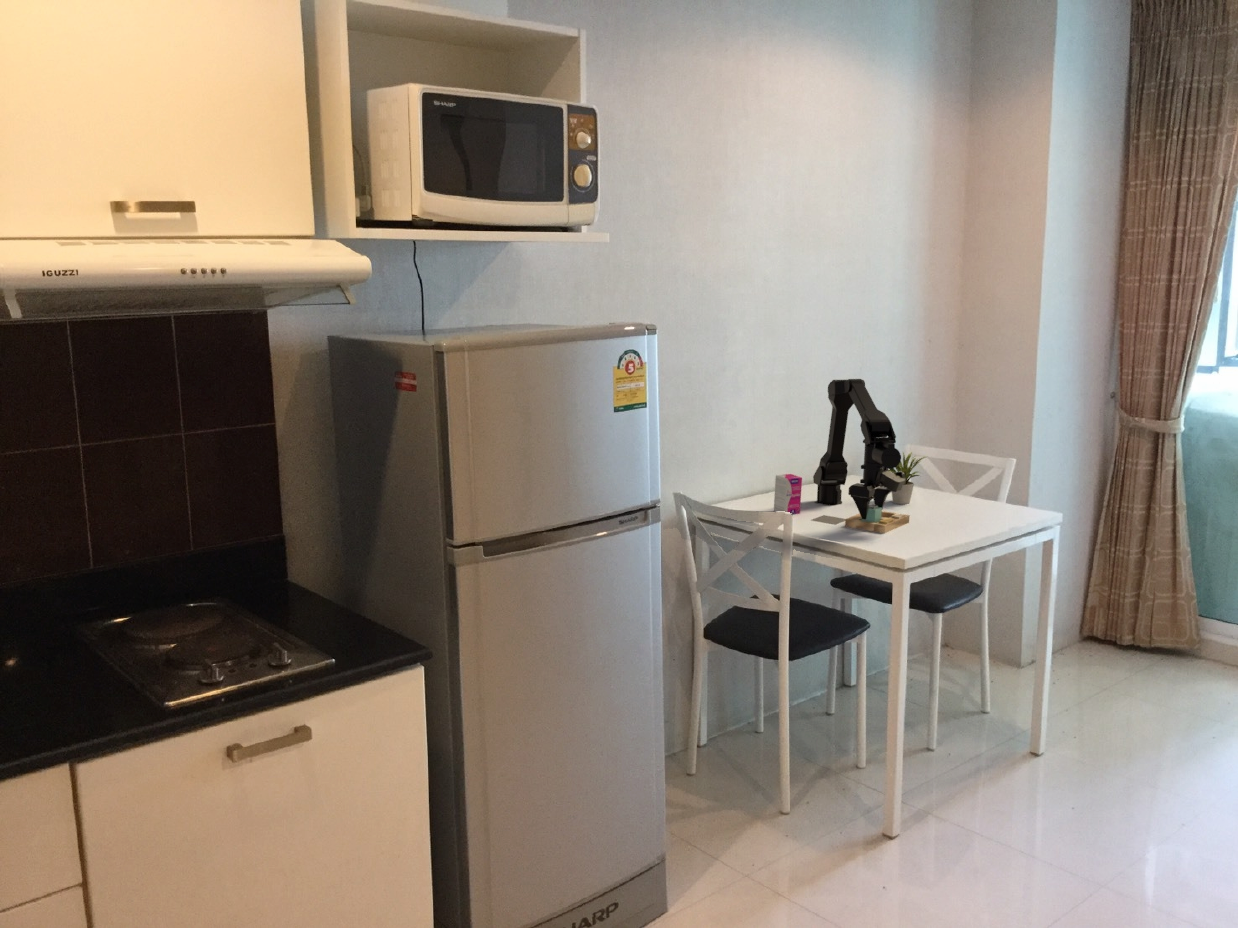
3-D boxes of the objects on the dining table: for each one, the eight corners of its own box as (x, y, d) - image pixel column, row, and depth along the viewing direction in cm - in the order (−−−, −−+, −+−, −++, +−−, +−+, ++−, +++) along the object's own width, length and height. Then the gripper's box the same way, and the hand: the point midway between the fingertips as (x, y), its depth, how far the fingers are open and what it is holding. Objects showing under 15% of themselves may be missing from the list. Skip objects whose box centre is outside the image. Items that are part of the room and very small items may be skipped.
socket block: (845, 527, 302) (845, 517, 301) (870, 517, 314) (870, 507, 313) (884, 534, 294) (885, 524, 294) (909, 523, 306) (909, 513, 306)
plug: (861, 528, 301) (862, 505, 299) (867, 526, 304) (868, 503, 302) (874, 531, 298) (875, 508, 297) (880, 528, 301) (881, 505, 300)
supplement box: (784, 516, 314) (786, 478, 311) (773, 512, 319) (774, 475, 317) (800, 514, 316) (802, 476, 314) (788, 510, 321) (790, 473, 319)
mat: (810, 521, 308) (810, 520, 308) (823, 516, 314) (823, 515, 314) (835, 525, 303) (835, 524, 303) (848, 520, 310) (848, 519, 309)
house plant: (920, 496, 341) (923, 446, 338) (934, 506, 328) (937, 454, 325) (876, 496, 341) (878, 446, 338) (888, 506, 327) (891, 454, 324)
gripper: (886, 470, 285) (883, 527, 288) (915, 460, 300) (912, 514, 303) (848, 465, 292) (846, 520, 295) (879, 455, 306) (876, 508, 309)
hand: (871, 516), depth 300 cm, fingers open, 9 cm apart
